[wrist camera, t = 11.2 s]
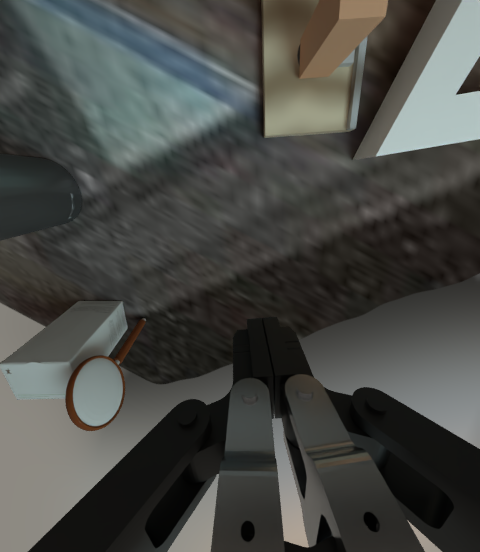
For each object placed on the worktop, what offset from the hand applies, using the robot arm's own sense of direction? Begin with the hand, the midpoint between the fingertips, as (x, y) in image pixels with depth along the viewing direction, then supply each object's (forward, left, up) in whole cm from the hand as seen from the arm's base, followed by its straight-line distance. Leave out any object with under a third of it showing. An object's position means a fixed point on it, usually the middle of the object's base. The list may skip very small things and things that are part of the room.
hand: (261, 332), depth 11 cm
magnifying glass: (-9, -24, -27) cm, 37 cm away
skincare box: (-16, -26, -27) cm, 41 cm away
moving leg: (0, +22, -25) cm, 34 cm away
